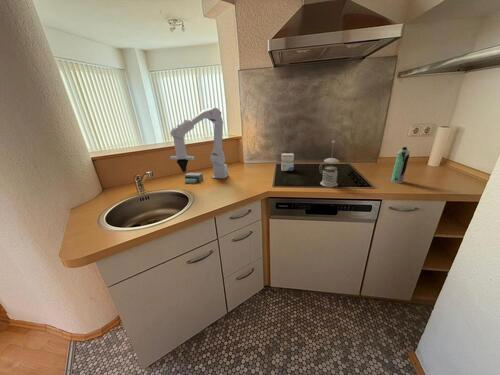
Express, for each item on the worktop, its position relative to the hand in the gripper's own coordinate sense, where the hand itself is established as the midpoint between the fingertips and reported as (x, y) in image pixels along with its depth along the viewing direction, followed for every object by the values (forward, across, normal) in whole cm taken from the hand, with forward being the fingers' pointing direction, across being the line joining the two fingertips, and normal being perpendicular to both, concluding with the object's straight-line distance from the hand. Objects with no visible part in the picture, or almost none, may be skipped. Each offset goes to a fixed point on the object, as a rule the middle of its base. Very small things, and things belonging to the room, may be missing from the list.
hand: (184, 171), depth 121 cm
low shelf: (+9, 0, +10) cm, 14 cm away
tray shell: (+9, 0, +8) cm, 12 cm away
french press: (+10, +84, +15) cm, 86 cm away
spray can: (+10, +123, +23) cm, 125 cm away
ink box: (+10, +59, +40) cm, 72 cm away
